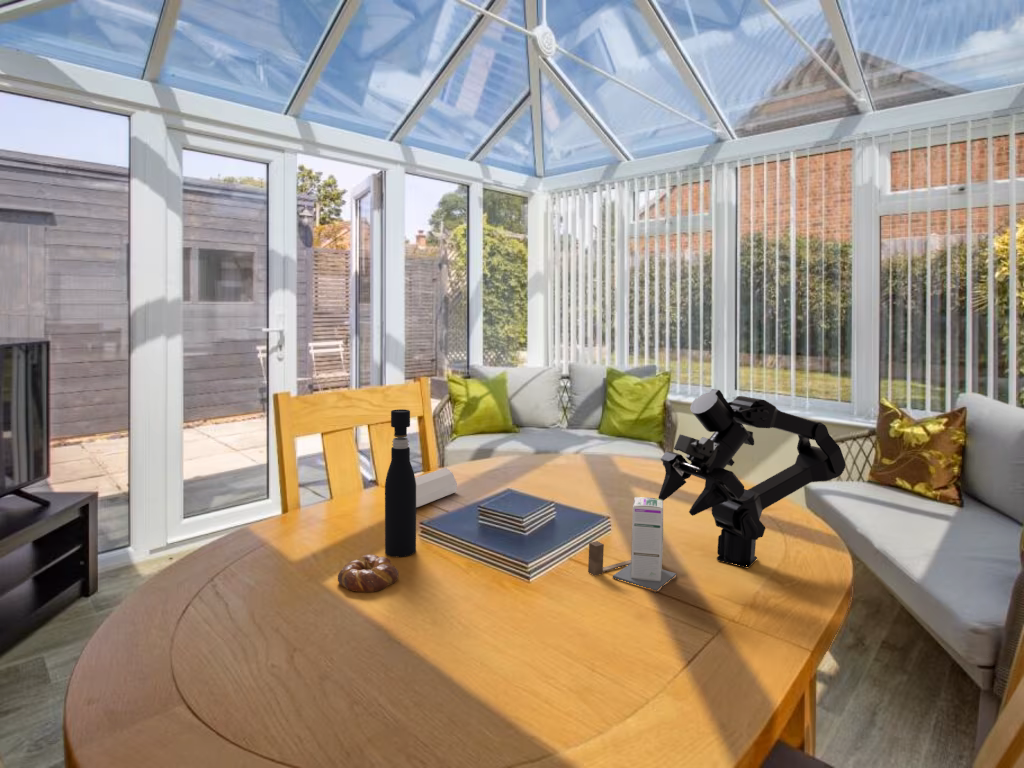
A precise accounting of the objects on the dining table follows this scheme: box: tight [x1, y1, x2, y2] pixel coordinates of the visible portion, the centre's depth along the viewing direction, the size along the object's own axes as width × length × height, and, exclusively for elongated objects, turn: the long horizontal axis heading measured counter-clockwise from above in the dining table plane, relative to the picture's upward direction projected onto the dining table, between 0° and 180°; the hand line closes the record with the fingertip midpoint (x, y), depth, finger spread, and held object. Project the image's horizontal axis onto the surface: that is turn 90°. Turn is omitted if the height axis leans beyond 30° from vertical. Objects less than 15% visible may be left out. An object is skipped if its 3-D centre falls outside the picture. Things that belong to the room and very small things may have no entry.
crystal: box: [415, 467, 458, 509], centre depth 159 cm, size 7×7×24 cm
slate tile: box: [612, 564, 677, 591], centre depth 114 cm, size 9×9×1 cm
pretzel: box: [337, 553, 399, 593], centre depth 110 cm, size 12×11×4 cm
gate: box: [587, 540, 631, 577], centre depth 119 cm, size 16×2×6 cm, turn 122°
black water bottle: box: [384, 408, 417, 558], centre depth 122 cm, size 6×6×30 cm
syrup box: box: [630, 496, 664, 582], centre depth 113 cm, size 6×6×14 cm
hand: (674, 506), depth 115 cm, fingers open, 9 cm apart
